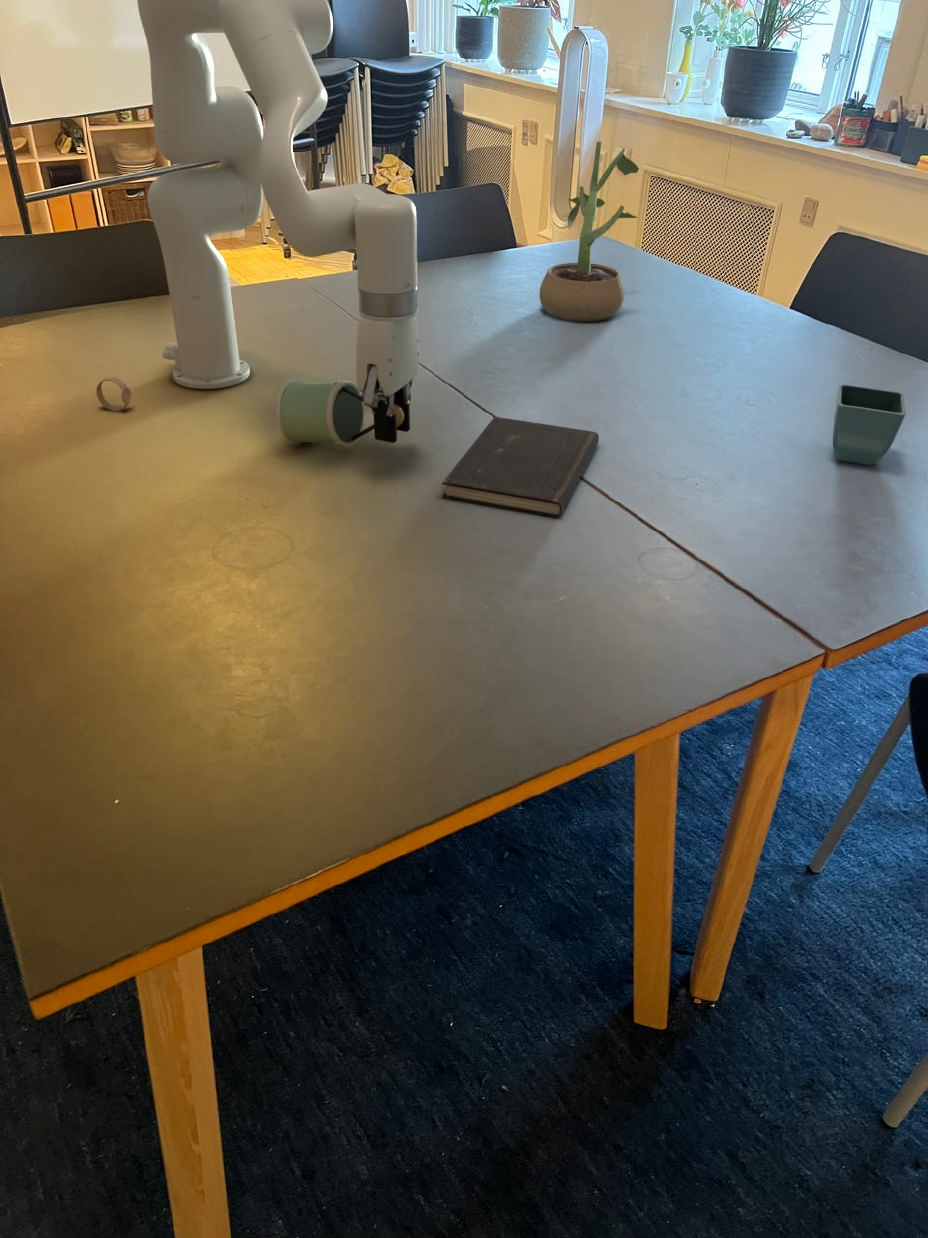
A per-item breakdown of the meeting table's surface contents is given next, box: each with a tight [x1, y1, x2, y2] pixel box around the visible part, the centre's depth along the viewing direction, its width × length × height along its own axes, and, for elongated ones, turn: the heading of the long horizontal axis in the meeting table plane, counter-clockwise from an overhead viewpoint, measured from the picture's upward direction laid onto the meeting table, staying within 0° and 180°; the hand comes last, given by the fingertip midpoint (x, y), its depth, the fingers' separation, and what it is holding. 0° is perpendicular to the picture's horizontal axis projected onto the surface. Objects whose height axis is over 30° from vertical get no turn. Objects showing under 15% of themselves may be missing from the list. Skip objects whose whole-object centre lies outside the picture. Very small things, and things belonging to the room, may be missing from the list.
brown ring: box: [95, 376, 132, 412], centre depth 146 cm, size 3×5×5 cm, turn 78°
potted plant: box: [539, 141, 640, 323], centre depth 185 cm, size 22×18×30 cm
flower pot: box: [832, 383, 907, 466], centre depth 135 cm, size 9×9×9 cm
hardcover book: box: [441, 416, 600, 518], centre depth 131 cm, size 16×23×2 cm
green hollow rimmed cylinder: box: [275, 378, 404, 448], centre depth 133 cm, size 18×9×9 cm, turn 67°
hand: (392, 433), depth 131 cm, fingers closed on green hollow rimmed cylinder, 3 cm apart
